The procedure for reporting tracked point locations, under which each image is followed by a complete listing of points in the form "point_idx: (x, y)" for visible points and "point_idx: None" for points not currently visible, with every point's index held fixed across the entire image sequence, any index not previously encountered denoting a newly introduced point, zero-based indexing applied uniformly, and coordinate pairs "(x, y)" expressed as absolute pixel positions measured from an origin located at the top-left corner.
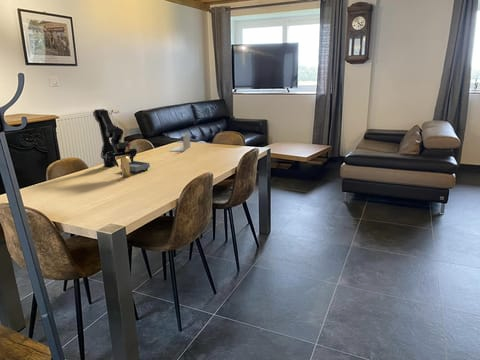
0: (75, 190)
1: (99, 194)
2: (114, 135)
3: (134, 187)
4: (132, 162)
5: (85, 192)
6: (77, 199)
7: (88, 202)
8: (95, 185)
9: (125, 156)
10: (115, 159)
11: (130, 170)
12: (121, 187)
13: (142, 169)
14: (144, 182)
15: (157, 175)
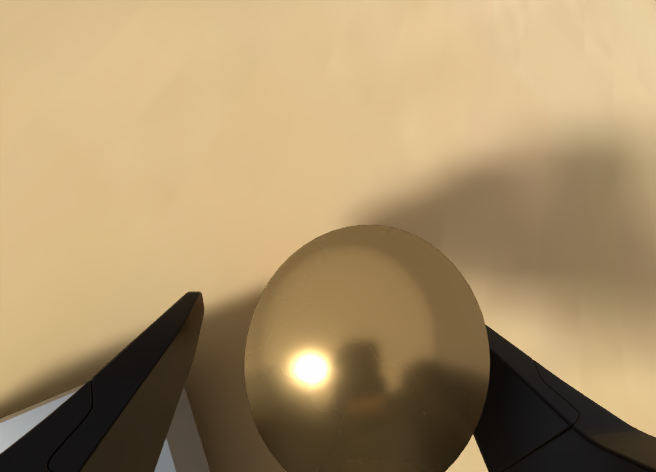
0: (637, 213)
1: (540, 60)
2: None
3: (363, 18)
4: (192, 307)
5: (594, 140)
6: (621, 72)
7: (584, 6)
8: (544, 230)
9: (322, 416)
10: (555, 399)
11: (201, 447)
12: (425, 75)
13: (49, 398)
14: (264, 53)
15: (51, 139)
